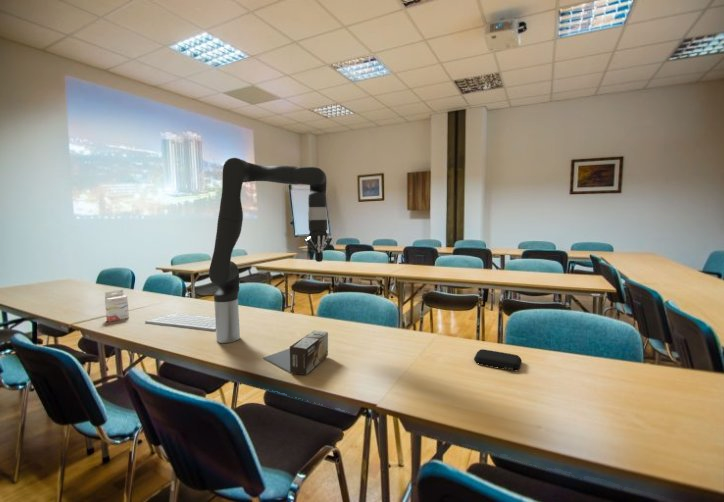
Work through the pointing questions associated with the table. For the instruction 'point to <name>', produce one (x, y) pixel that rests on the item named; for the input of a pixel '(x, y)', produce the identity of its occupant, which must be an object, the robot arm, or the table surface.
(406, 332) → the table surface
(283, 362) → the dark rubber mat
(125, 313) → the ink cartridge box
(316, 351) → the coffee box
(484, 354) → the carrying case or bag
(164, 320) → the computer keyboard
